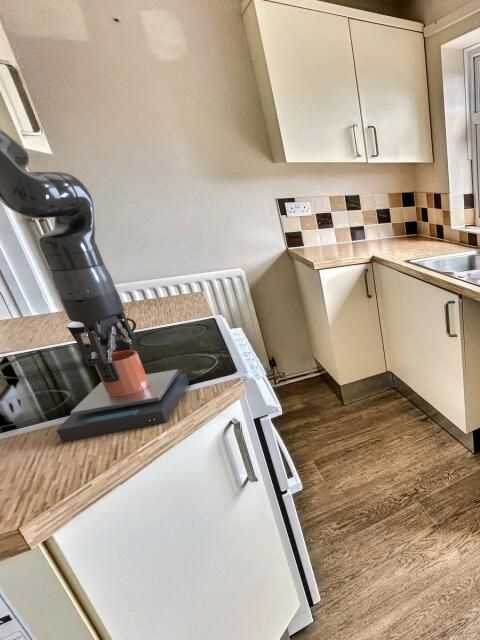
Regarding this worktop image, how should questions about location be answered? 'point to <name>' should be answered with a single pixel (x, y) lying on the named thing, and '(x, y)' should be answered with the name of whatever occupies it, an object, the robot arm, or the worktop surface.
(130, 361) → the terracotta faceted cup
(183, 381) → the scale
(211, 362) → the worktop surface
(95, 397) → the scale pan
